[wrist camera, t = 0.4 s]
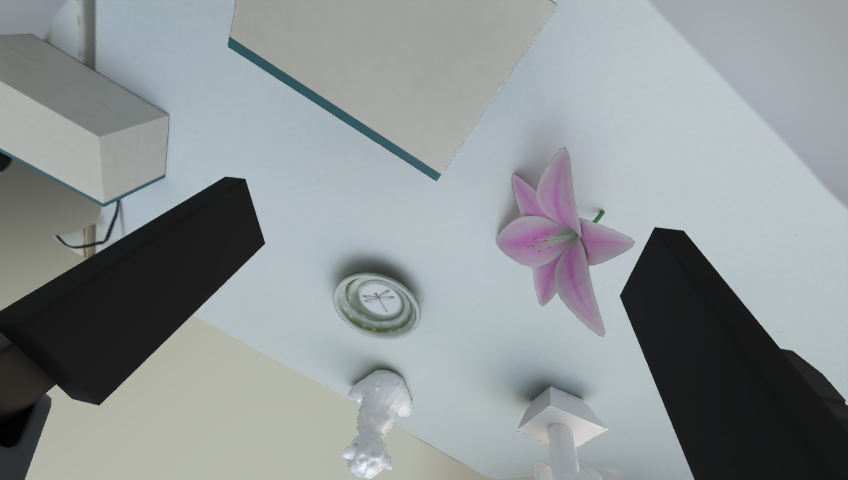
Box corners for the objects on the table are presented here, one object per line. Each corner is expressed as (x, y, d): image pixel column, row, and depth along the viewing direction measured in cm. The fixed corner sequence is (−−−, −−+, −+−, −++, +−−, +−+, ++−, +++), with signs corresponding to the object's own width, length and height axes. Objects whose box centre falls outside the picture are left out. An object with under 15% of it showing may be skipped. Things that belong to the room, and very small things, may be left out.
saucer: (376, 332, 41) (370, 349, 39) (324, 278, 37) (314, 293, 35) (441, 311, 37) (437, 327, 35) (389, 247, 33) (382, 261, 31)
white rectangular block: (45, 109, 32) (-44, 128, 27) (32, 33, 28) (-76, 38, 23) (165, 177, 34) (103, 207, 29) (169, 115, 30) (99, 137, 24)
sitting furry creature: (351, 387, 49) (314, 478, 40) (357, 354, 44) (317, 449, 35) (411, 406, 49) (389, 503, 40) (425, 375, 44) (403, 478, 34)
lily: (576, 99, 24) (508, 149, 18) (722, 207, 21) (694, 301, 16) (498, 202, 33) (439, 255, 28) (593, 284, 31) (549, 358, 26)
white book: (268, 41, 19) (227, 46, 16) (319, -174, 14) (271, -223, 11) (445, 158, 21) (436, 181, 18) (548, 6, 15) (558, 5, 13)
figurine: (511, 406, 44) (513, 554, 32) (552, 371, 39) (574, 534, 27) (559, 426, 45) (580, 580, 32) (606, 394, 39) (653, 565, 27)
